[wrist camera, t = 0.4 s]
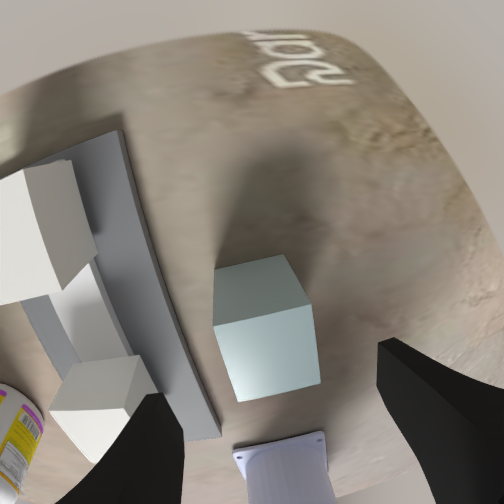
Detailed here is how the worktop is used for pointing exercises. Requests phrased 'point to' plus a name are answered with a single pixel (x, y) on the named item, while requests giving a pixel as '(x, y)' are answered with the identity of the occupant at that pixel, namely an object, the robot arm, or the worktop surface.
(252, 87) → the worktop surface
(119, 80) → the worktop surface
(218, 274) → the block
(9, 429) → the supplement bottle
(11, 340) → the worktop surface
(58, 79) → the worktop surface
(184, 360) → the board
